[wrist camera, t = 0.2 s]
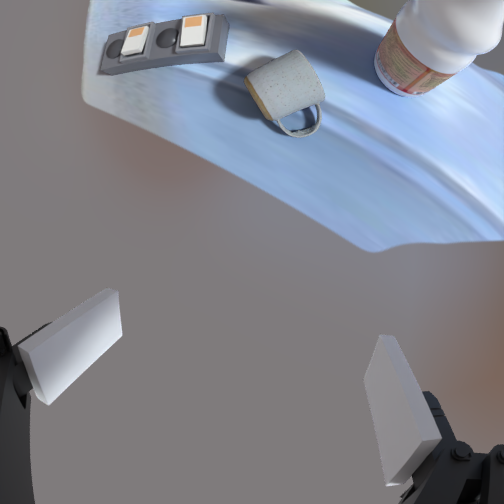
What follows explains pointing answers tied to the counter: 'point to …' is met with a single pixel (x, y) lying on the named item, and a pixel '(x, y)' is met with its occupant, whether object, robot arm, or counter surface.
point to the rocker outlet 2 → (193, 31)
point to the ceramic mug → (286, 89)
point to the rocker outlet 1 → (135, 40)
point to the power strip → (166, 46)
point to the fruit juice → (436, 42)
